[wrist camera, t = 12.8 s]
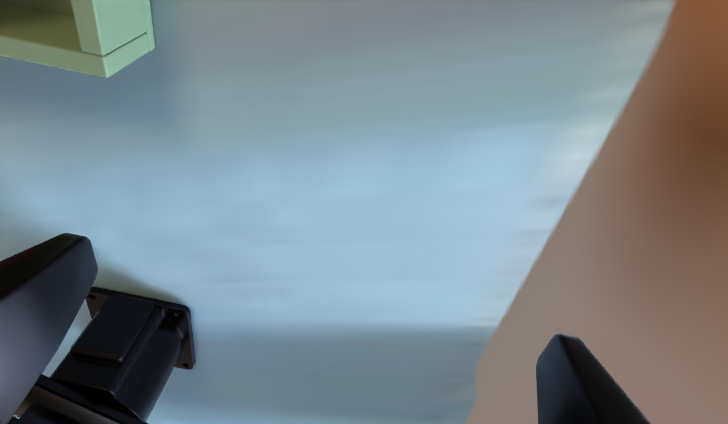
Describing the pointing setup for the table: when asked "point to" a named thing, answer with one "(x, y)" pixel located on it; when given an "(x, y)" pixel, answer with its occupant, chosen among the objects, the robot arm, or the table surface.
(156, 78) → the table surface
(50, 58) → the green bin
